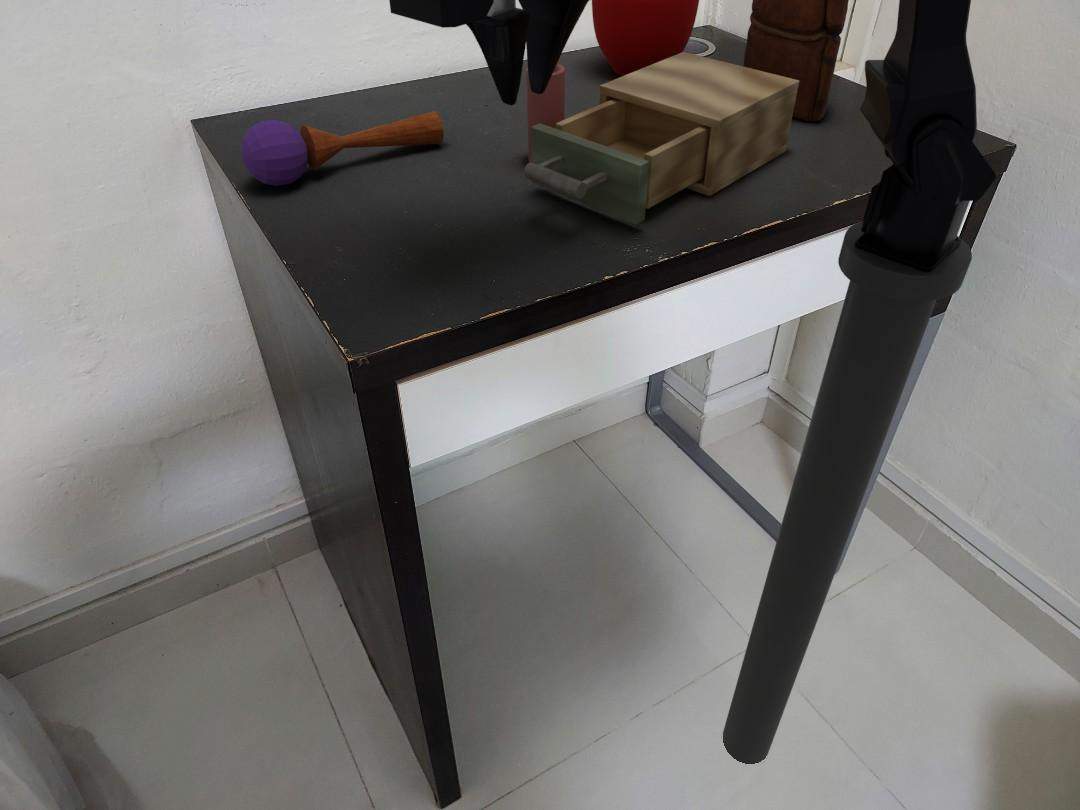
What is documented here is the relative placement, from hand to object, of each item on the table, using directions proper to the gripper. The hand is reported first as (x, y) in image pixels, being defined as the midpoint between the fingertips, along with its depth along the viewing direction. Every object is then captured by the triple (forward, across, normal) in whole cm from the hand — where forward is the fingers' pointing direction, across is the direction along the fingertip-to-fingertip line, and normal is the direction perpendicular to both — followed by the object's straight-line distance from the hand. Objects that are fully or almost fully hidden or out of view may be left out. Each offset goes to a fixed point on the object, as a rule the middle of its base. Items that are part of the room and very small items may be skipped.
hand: (523, 98), depth 59 cm
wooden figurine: (+12, -42, 0) cm, 44 cm away
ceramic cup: (+12, -43, -20) cm, 49 cm away
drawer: (+11, -11, 0) cm, 16 cm away
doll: (+12, -13, -10) cm, 20 cm away
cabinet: (+12, -24, 0) cm, 27 cm away
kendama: (+12, +1, -24) cm, 27 cm away
